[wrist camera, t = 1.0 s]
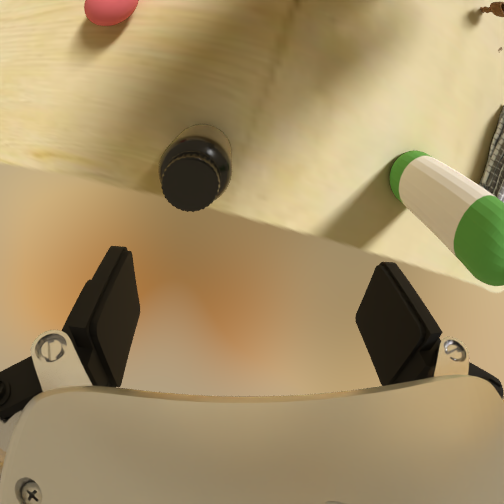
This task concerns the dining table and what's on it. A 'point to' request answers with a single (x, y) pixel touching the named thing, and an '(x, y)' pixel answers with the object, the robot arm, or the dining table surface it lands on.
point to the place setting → (495, 9)
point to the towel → (495, 163)
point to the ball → (109, 11)
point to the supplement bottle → (196, 167)
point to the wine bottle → (454, 212)
